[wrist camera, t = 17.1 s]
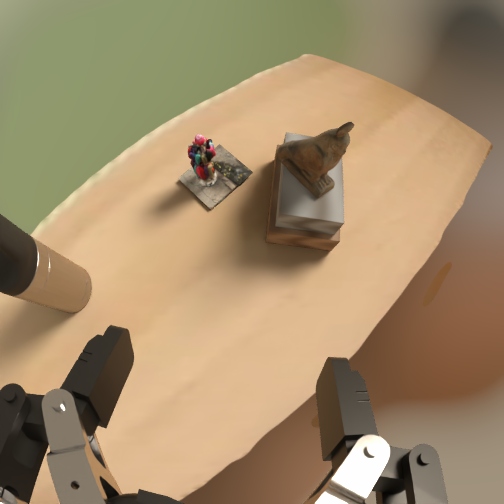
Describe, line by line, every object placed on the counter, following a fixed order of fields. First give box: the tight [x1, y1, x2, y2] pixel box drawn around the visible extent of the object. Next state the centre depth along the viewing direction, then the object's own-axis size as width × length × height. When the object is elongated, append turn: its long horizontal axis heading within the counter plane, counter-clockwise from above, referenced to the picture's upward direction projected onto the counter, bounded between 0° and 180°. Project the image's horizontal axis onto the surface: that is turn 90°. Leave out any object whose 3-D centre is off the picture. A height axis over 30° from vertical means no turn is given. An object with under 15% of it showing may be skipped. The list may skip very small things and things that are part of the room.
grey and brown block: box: [266, 133, 344, 251], centre depth 50 cm, size 12×18×10 cm, turn 173°
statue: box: [178, 135, 253, 209], centre depth 48 cm, size 11×9×15 cm
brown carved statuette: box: [276, 122, 354, 199], centre depth 38 cm, size 11×5×16 cm, turn 33°
